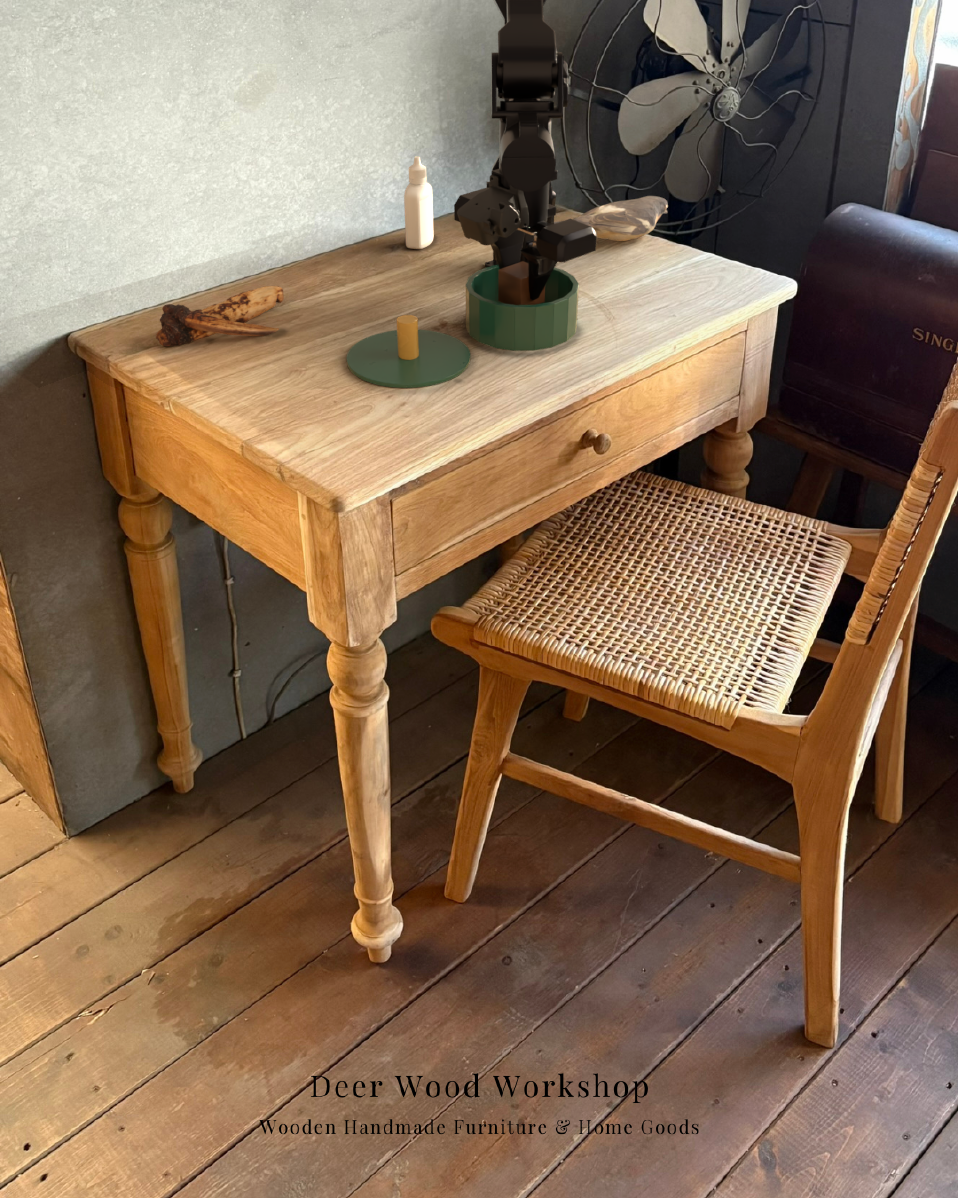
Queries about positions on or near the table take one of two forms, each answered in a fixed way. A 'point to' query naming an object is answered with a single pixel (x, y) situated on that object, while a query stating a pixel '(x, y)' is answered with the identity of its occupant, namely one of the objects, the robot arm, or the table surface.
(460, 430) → the table surface
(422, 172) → the eye dropper bottle
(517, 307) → the tin
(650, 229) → the decorative bird
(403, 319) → the lid
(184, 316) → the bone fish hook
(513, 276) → the block
